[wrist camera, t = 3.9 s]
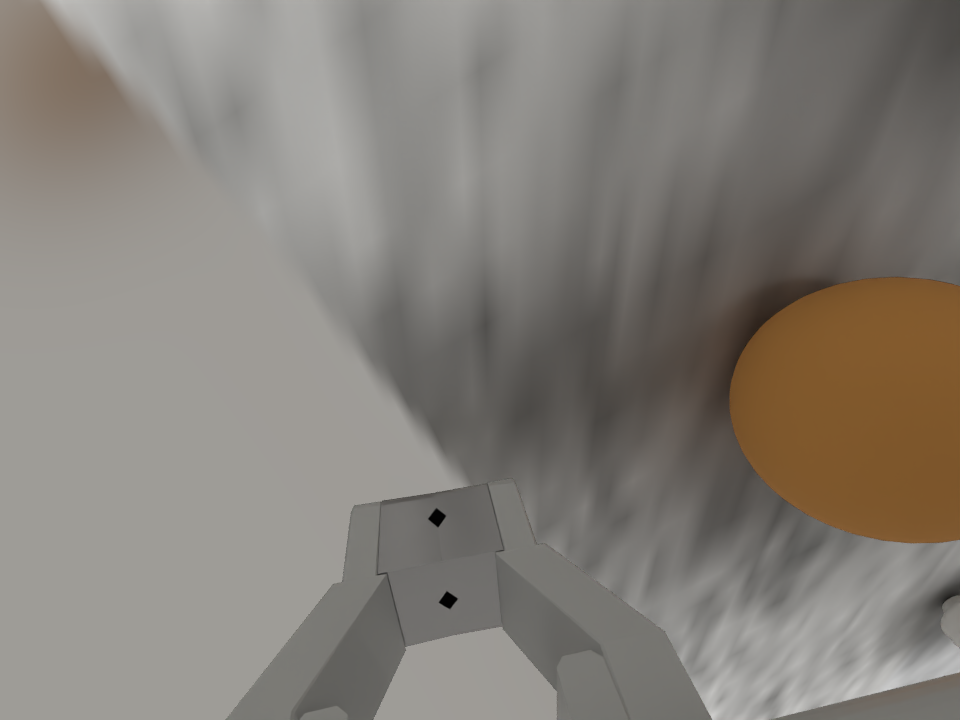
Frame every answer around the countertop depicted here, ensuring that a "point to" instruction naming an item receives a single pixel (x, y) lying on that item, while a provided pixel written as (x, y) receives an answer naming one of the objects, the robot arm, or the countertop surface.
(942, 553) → the countertop surface
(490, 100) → the countertop surface
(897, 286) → the ball
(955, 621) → the lightbulb
